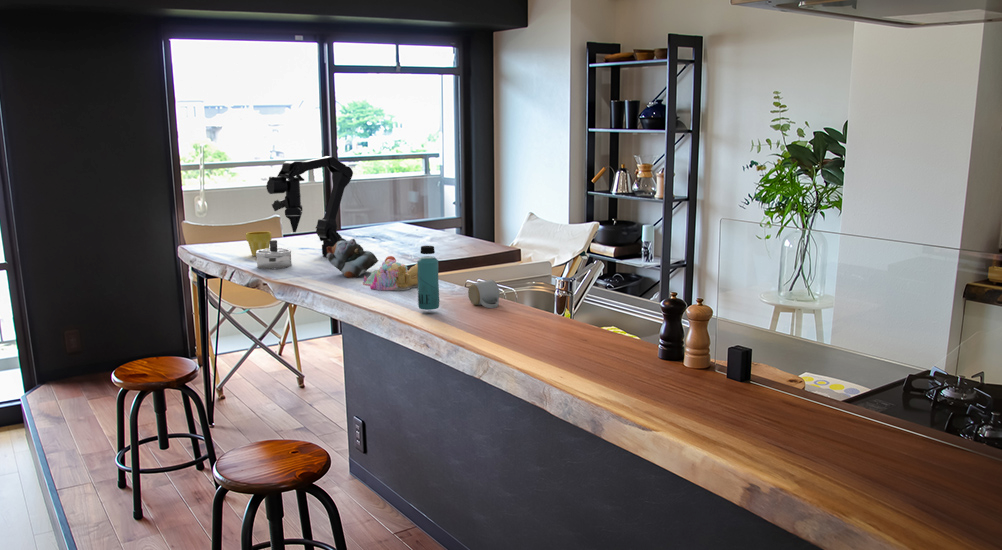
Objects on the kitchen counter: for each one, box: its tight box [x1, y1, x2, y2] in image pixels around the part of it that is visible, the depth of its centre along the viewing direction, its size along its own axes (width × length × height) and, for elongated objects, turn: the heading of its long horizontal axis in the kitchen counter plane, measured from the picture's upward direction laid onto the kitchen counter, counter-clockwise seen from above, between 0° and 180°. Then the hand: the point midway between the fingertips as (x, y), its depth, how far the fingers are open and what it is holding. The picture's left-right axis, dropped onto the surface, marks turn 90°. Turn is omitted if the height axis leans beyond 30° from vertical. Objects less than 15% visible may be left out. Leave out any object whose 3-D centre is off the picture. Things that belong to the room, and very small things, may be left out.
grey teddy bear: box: [325, 237, 379, 279], centre depth 279 cm, size 17×14×16 cm
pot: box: [255, 247, 293, 270], centre depth 296 cm, size 13×19×6 cm
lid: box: [261, 239, 287, 253], centre depth 295 cm, size 10×10×5 cm
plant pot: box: [245, 230, 272, 257], centre depth 321 cm, size 10×10×10 cm
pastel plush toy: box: [362, 255, 418, 292], centre depth 262 cm, size 25×24×9 cm
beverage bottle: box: [416, 245, 440, 311], centre depth 220 cm, size 6×7×20 cm
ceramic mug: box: [467, 279, 500, 309], centre depth 230 cm, size 10×8×7 cm
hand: (294, 230), depth 306 cm, fingers open, 9 cm apart
